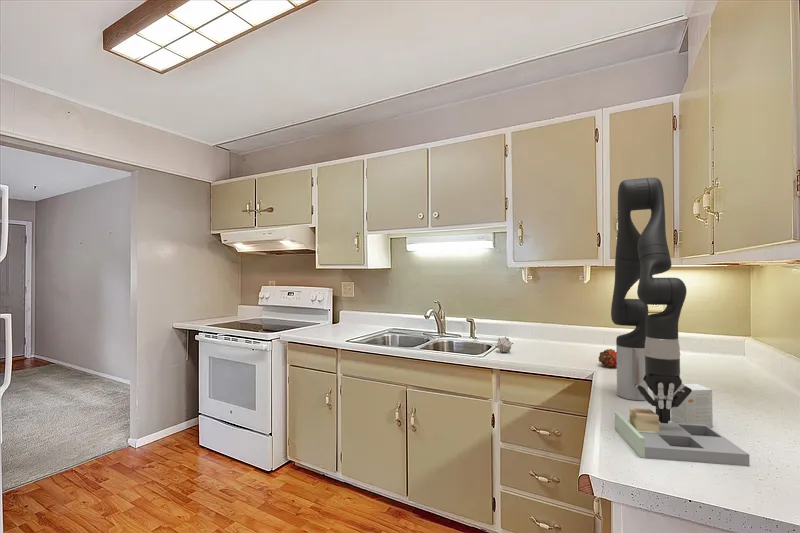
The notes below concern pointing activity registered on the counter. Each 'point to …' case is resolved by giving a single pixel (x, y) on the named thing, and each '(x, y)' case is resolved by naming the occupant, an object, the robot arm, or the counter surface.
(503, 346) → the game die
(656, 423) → the block
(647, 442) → the grey slotted tray
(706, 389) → the small box
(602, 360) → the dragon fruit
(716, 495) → the counter surface
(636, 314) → the robot arm
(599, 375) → the counter surface
